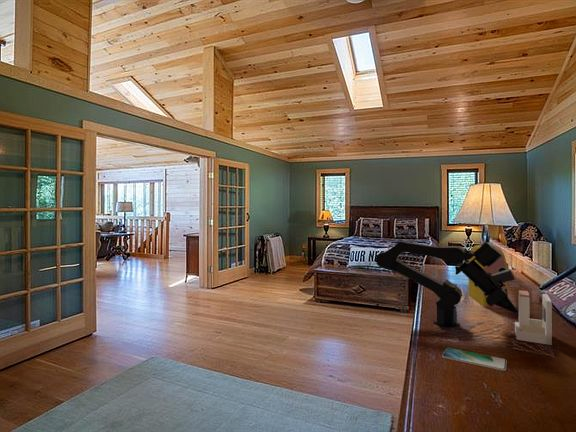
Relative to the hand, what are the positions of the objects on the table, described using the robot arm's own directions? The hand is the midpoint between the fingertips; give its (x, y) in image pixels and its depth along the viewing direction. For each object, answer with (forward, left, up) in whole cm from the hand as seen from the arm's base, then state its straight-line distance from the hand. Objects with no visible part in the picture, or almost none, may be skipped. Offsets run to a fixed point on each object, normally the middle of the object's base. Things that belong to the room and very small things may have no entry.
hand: (517, 312), depth 112 cm
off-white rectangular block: (+1, -1, -4) cm, 5 cm away
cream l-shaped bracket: (+2, -3, -7) cm, 8 cm away
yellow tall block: (+30, +32, -7) cm, 44 cm away
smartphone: (-30, -6, -8) cm, 31 cm away
